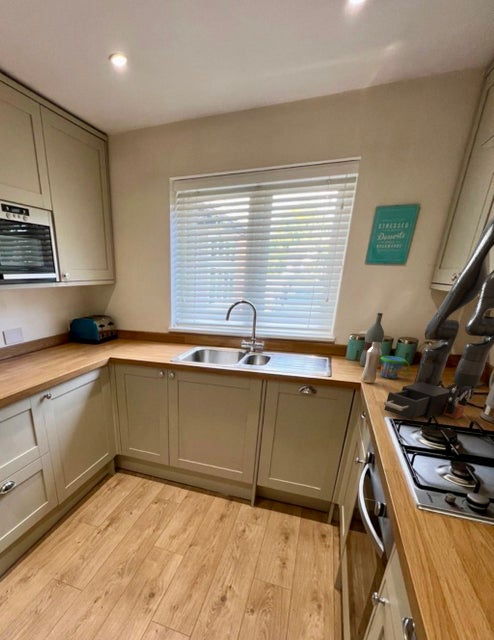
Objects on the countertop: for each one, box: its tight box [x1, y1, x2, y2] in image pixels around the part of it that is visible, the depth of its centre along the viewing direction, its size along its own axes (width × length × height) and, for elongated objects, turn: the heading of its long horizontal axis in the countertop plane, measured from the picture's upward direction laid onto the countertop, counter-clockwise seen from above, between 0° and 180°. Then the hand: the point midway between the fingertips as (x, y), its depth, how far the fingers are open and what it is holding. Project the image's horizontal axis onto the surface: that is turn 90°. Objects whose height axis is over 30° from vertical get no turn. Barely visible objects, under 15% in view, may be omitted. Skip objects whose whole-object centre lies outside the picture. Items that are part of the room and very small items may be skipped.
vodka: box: [359, 312, 385, 368], centre depth 188 cm, size 9×9×30 cm
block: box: [442, 403, 467, 420], centre depth 127 cm, size 4×4×4 cm
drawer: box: [383, 390, 432, 421], centre depth 125 cm, size 18×10×7 cm, turn 118°
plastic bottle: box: [360, 342, 383, 384], centre depth 160 cm, size 6×7×20 cm
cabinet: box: [401, 382, 450, 419], centre depth 131 cm, size 14×12×9 cm
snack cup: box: [379, 355, 410, 380], centre depth 171 cm, size 16×10×10 cm
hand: (454, 411), depth 127 cm, fingers open, 8 cm apart
